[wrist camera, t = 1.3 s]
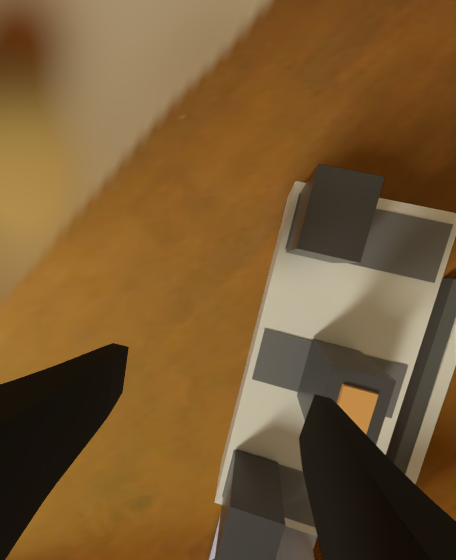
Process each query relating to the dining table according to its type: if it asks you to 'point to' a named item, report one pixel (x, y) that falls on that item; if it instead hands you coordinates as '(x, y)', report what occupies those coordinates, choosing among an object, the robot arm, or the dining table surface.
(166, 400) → the dining table surface
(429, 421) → the long grey stick
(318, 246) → the white panel with blocks
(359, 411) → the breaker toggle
